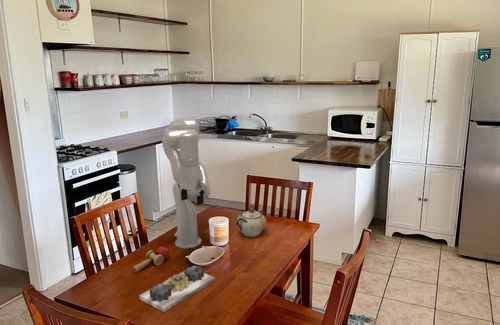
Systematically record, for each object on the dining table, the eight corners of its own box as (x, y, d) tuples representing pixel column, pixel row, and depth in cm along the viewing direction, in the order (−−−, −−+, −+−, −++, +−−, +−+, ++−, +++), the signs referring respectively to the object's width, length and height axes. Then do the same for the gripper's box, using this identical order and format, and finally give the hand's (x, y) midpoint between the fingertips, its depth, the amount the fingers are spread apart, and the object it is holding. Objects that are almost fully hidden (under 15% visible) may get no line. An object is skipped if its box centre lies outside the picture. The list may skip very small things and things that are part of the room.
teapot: (254, 224, 215) (253, 198, 212) (275, 231, 205) (275, 204, 201) (227, 235, 202) (226, 207, 198) (248, 244, 191) (247, 214, 188)
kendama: (142, 279, 165) (174, 256, 178) (137, 265, 163) (170, 244, 176) (131, 276, 170) (163, 255, 183) (127, 263, 168) (159, 242, 181)
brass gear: (164, 287, 152) (164, 280, 152) (179, 279, 158) (178, 272, 157) (177, 293, 148) (176, 286, 147) (192, 284, 153) (191, 277, 153)
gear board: (139, 298, 148) (137, 283, 146) (190, 270, 167) (189, 256, 166) (163, 312, 139) (162, 295, 138) (215, 280, 159) (214, 266, 157)
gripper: (168, 161, 166) (171, 200, 170) (197, 166, 155) (200, 208, 159) (182, 158, 171) (185, 195, 175) (211, 163, 161) (213, 203, 165)
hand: (192, 201), depth 167 cm, fingers open, 9 cm apart
